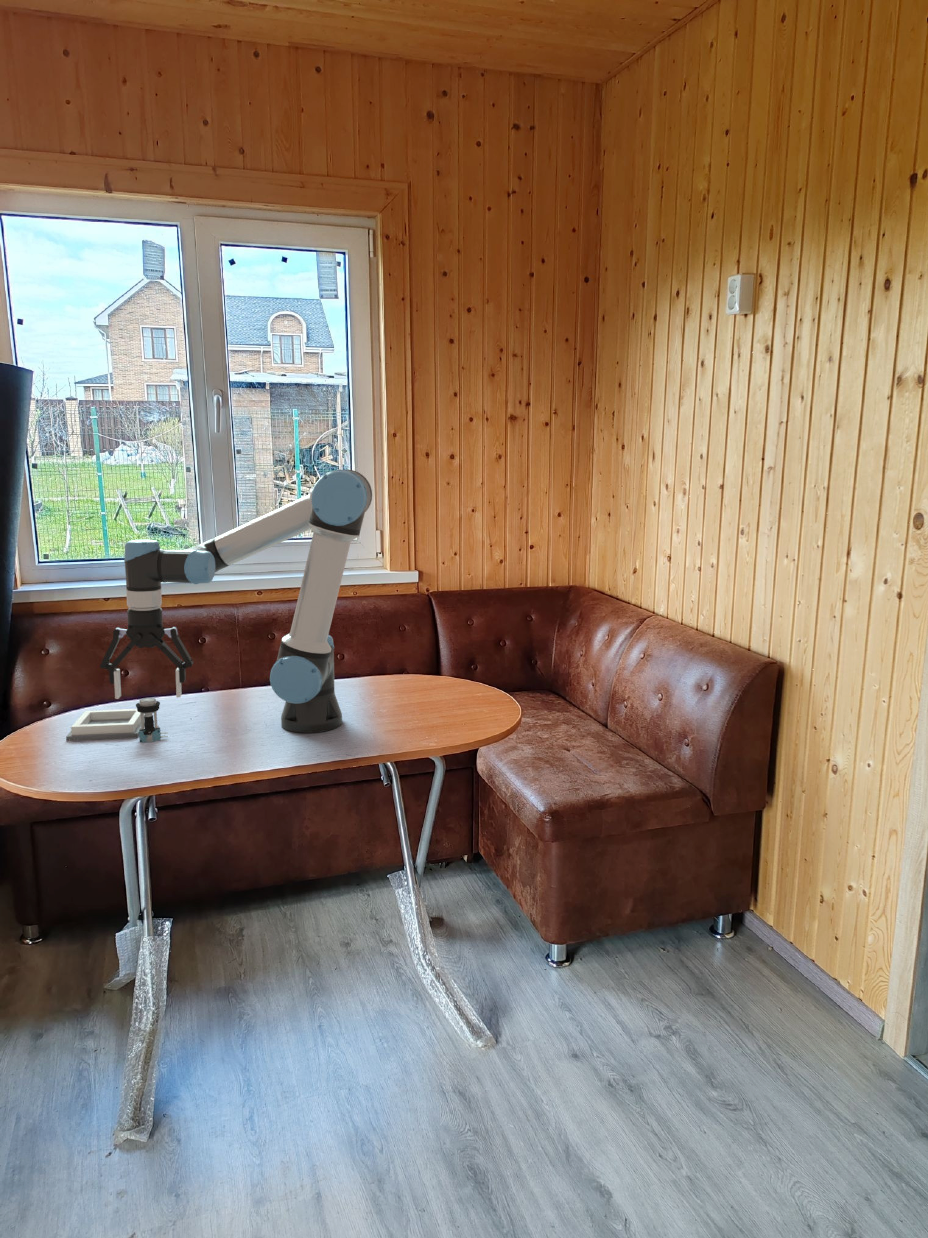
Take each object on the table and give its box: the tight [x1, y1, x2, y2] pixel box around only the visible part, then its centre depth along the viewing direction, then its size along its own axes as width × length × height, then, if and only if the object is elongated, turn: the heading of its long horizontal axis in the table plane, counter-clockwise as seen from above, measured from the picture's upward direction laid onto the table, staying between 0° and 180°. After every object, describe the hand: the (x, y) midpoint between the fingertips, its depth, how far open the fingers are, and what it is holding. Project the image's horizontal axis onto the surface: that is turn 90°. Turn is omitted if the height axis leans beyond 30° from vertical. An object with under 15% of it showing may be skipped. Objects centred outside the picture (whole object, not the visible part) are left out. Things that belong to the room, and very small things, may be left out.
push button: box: [135, 697, 169, 743], centre depth 199 cm, size 7×5×10 cm
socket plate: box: [65, 708, 145, 742], centre depth 207 cm, size 16×15×3 cm
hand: (148, 696), depth 198 cm, fingers open, 13 cm apart
